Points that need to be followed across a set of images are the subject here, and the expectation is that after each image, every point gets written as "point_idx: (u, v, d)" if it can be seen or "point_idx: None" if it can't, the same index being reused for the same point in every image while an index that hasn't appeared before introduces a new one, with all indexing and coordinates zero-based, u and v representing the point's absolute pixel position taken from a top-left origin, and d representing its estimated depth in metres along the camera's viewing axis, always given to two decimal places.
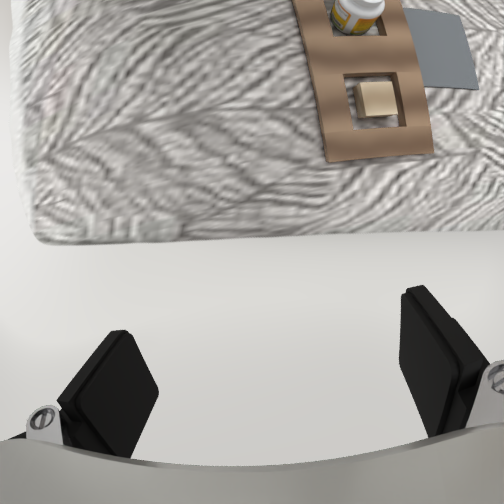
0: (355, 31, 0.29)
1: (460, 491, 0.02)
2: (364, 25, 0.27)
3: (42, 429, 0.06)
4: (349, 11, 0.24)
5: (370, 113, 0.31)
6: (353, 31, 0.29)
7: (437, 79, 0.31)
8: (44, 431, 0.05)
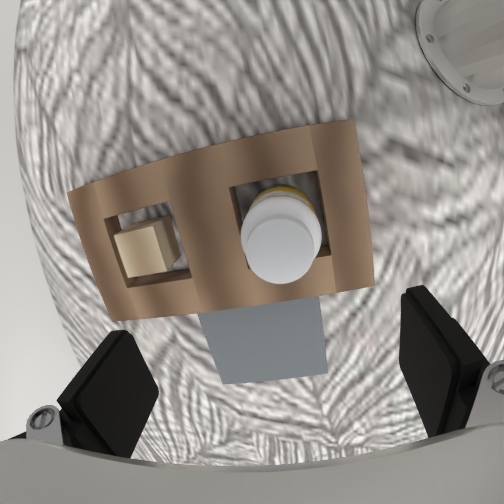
0: None
1: (460, 491, 0.02)
2: None
3: (42, 429, 0.06)
4: (247, 213, 0.20)
5: (117, 241, 0.25)
6: None
7: (213, 332, 0.31)
8: (44, 431, 0.05)
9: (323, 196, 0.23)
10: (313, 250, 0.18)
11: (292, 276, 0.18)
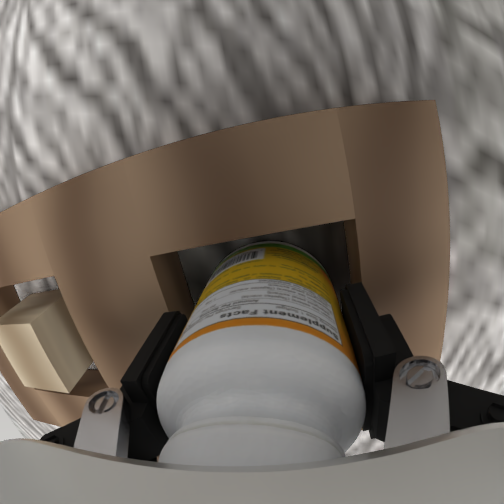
0: None
1: (460, 491, 0.02)
2: None
3: (100, 413, 0.06)
4: (167, 366, 0.07)
5: None
6: None
7: None
8: (101, 417, 0.06)
9: (363, 278, 0.10)
10: None
11: None
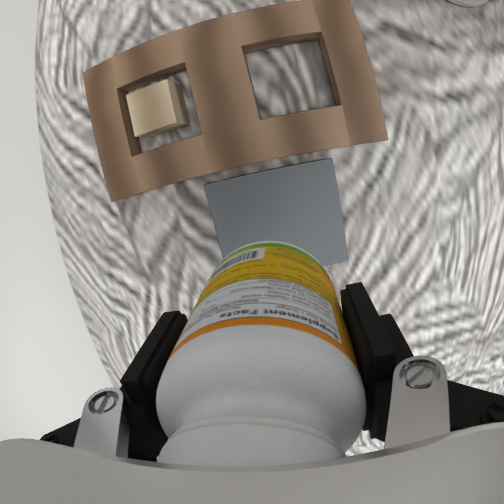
0: None
1: (460, 491, 0.02)
2: None
3: (100, 414, 0.06)
4: (167, 366, 0.07)
5: (129, 99, 0.23)
6: None
7: (221, 209, 0.29)
8: (101, 417, 0.06)
9: (328, 52, 0.21)
10: None
11: None
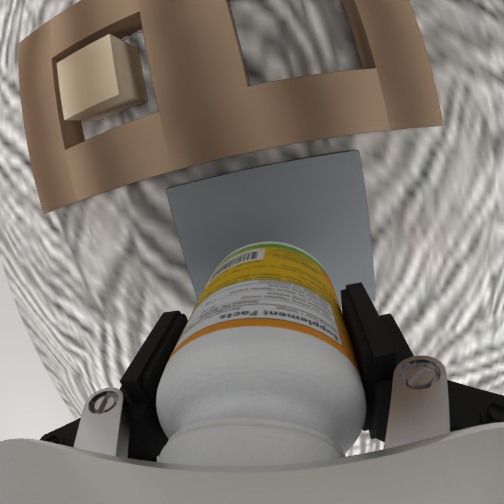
0: None
1: (460, 491, 0.02)
2: None
3: (100, 414, 0.06)
4: (167, 367, 0.07)
5: (60, 69, 0.13)
6: None
7: (190, 224, 0.19)
8: (101, 417, 0.06)
9: None
10: None
11: None
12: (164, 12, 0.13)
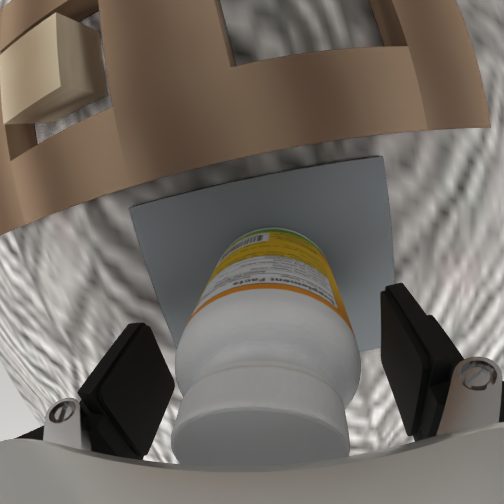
0: None
1: (460, 491, 0.02)
2: None
3: (61, 422, 0.06)
4: (186, 328, 0.08)
5: (2, 61, 0.09)
6: None
7: (161, 254, 0.15)
8: (62, 425, 0.06)
9: None
10: (346, 455, 0.05)
11: None
12: None
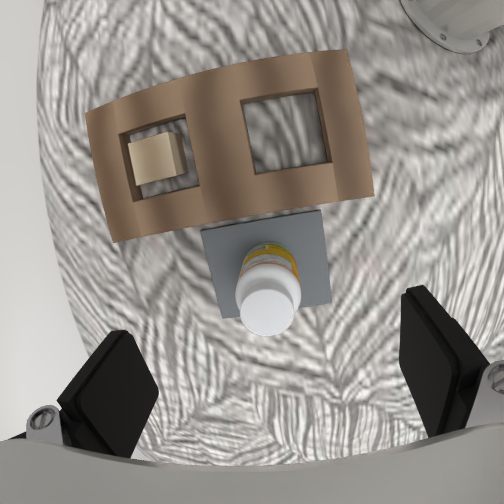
0: None
1: (460, 491, 0.02)
2: None
3: (42, 429, 0.06)
4: (241, 277, 0.25)
5: (131, 149, 0.25)
6: None
7: (216, 253, 0.32)
8: (44, 431, 0.05)
9: (323, 109, 0.25)
10: (293, 312, 0.22)
11: (276, 331, 0.23)
12: (202, 117, 0.26)
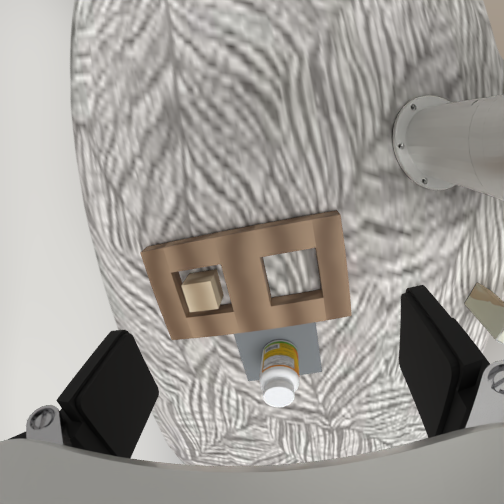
0: None
1: (460, 491, 0.02)
2: None
3: (42, 429, 0.06)
4: (263, 373, 0.39)
5: (184, 289, 0.39)
6: None
7: (244, 345, 0.45)
8: (44, 431, 0.05)
9: (319, 263, 0.38)
10: (293, 396, 0.36)
11: (284, 405, 0.37)
12: (233, 268, 0.39)
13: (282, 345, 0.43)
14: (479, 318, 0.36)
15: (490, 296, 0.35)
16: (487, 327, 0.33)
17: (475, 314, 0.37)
